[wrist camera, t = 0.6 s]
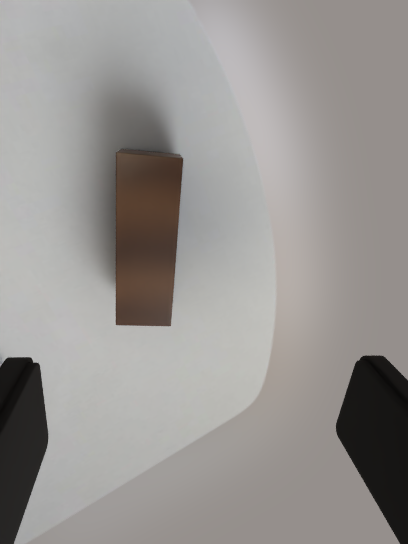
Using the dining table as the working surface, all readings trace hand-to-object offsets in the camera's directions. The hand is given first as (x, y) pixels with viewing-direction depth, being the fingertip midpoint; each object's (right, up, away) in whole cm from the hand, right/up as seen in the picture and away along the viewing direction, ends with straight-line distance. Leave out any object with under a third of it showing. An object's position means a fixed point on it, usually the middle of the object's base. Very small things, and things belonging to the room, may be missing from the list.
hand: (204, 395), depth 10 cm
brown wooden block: (-4, +7, +16) cm, 18 cm away
